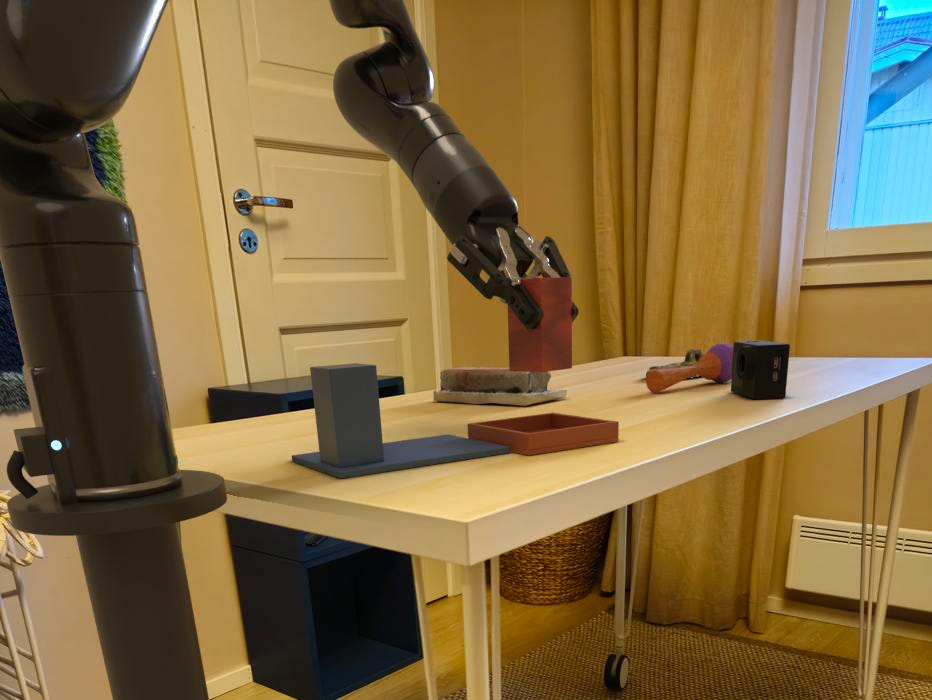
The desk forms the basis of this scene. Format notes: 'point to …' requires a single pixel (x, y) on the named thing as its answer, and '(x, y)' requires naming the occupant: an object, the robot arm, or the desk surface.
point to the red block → (543, 328)
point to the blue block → (347, 414)
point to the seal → (690, 361)
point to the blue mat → (410, 455)
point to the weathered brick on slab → (495, 386)
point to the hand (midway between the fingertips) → (554, 320)
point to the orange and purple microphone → (696, 369)
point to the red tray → (545, 432)
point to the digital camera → (760, 369)
